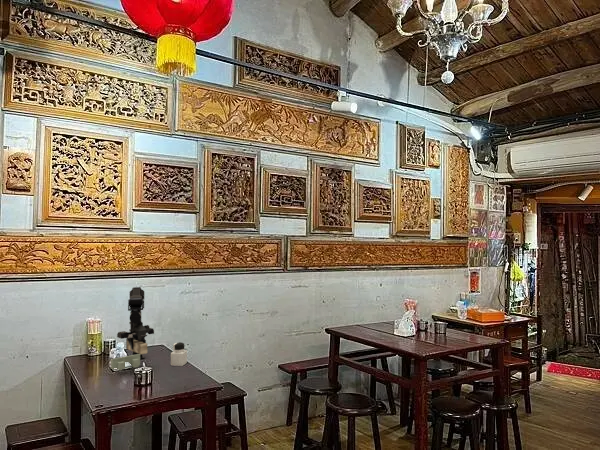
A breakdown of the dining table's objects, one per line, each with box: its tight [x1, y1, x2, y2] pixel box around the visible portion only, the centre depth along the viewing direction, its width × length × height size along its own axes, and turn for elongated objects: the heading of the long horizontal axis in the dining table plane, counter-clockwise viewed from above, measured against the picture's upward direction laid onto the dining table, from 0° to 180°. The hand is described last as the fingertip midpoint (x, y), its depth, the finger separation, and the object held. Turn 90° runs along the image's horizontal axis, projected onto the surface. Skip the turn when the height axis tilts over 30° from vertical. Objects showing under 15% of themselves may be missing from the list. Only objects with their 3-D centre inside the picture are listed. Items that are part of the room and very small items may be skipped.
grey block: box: [110, 354, 141, 371], centre depth 268 cm, size 6×16×6 cm, turn 133°
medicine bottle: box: [170, 342, 188, 367], centre depth 274 cm, size 7×7×12 cm
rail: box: [125, 338, 148, 355], centre depth 262 cm, size 18×4×5 cm, turn 44°
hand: (136, 348), depth 263 cm, fingers closed on rail, 3 cm apart
